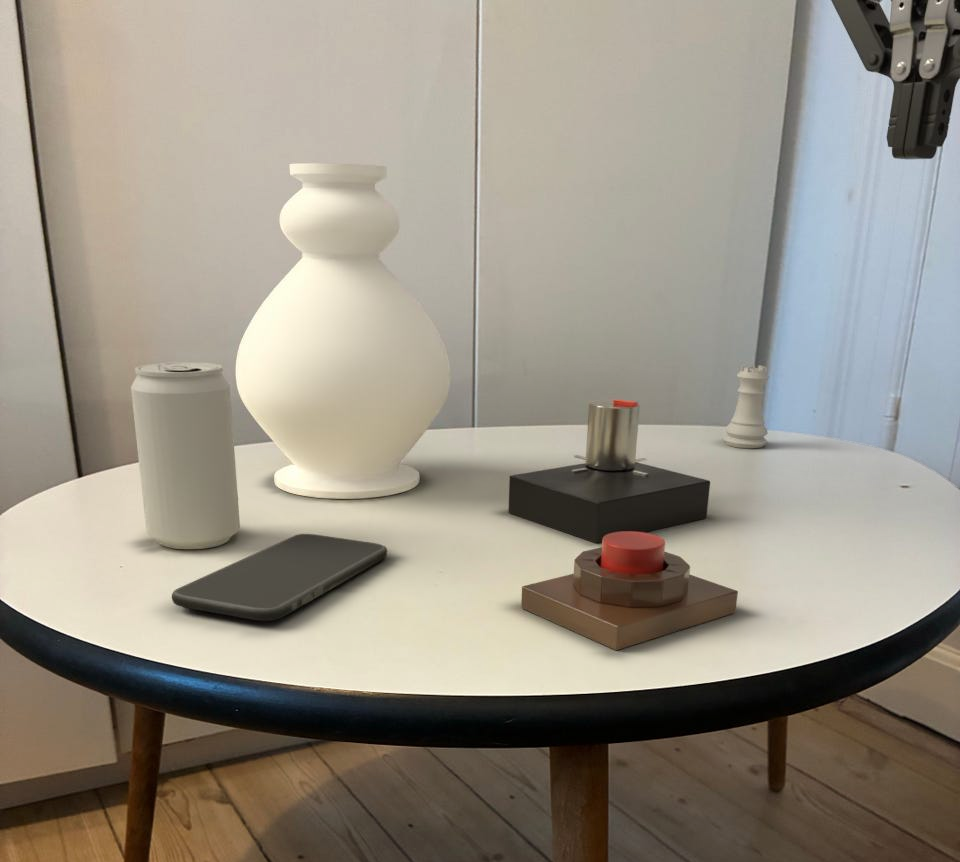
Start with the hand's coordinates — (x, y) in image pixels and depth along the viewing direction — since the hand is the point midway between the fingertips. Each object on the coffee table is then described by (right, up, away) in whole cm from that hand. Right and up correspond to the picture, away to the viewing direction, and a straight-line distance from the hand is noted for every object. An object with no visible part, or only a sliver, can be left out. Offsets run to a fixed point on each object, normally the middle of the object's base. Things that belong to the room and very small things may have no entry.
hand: (912, 158), depth 58 cm
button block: (-16, -25, +3) cm, 30 cm away
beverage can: (-45, -20, +15) cm, 51 cm away
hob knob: (-14, -13, +26) cm, 32 cm away
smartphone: (-36, -24, +7) cm, 44 cm away
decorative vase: (-36, -13, +32) cm, 50 cm away
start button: (-15, -23, +2) cm, 28 cm away
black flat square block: (-15, -17, +24) cm, 33 cm away
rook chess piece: (+3, -7, +50) cm, 51 cm away
